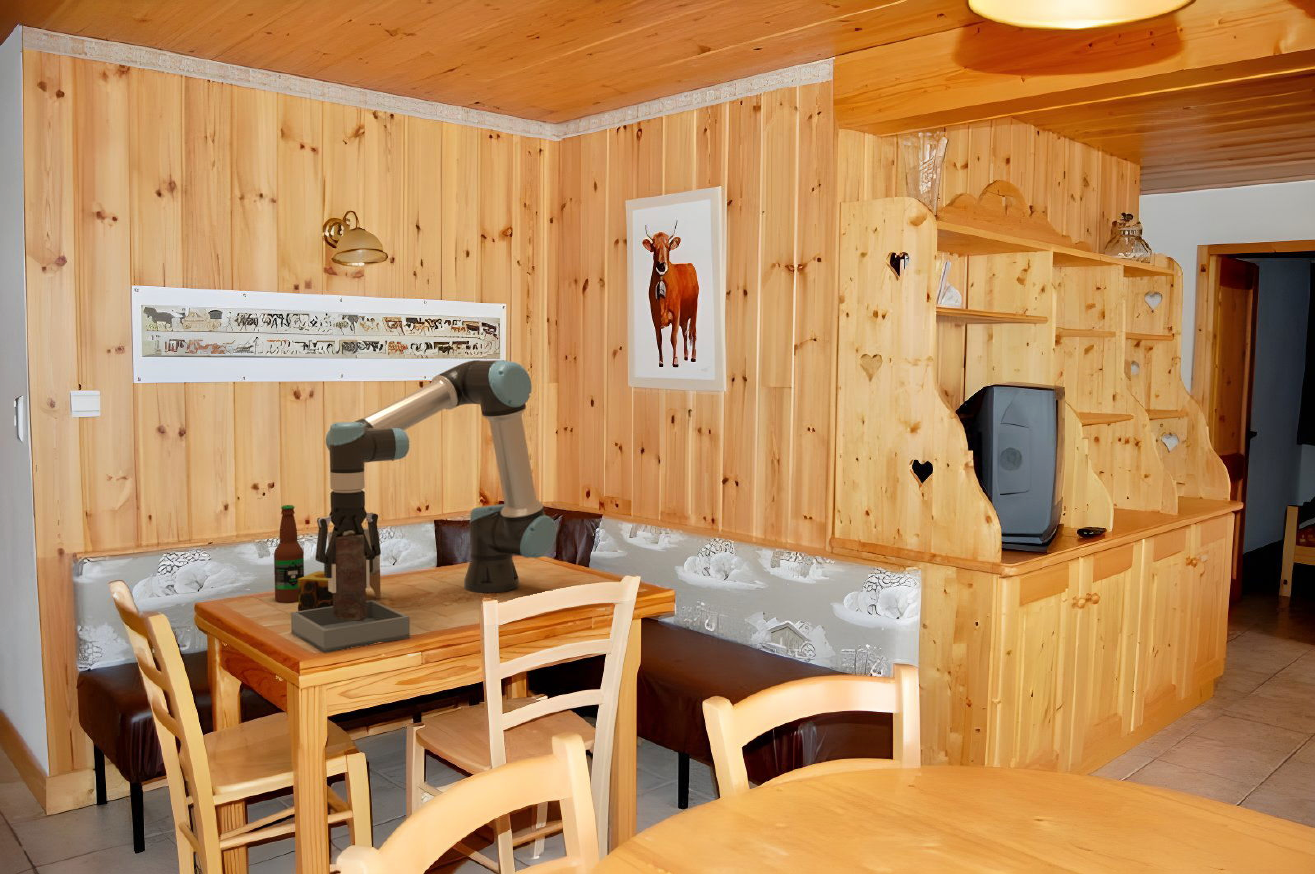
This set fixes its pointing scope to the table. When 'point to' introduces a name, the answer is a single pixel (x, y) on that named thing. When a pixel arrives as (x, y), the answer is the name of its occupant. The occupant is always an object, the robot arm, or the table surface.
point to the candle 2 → (350, 578)
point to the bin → (349, 627)
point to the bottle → (288, 559)
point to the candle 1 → (314, 592)
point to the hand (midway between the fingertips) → (349, 589)
